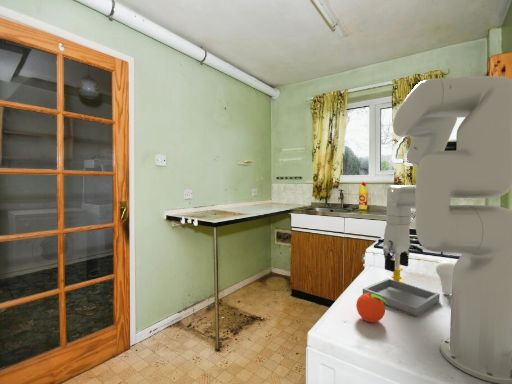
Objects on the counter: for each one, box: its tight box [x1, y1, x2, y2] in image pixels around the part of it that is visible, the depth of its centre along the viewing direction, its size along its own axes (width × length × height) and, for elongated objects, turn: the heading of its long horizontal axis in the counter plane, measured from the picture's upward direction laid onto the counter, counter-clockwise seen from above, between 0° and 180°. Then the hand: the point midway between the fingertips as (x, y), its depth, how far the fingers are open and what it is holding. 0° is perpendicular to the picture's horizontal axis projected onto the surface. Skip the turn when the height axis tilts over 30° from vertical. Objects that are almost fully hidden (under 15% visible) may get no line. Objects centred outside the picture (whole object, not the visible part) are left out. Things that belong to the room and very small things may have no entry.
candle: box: [391, 253, 405, 283], centre depth 93 cm, size 5×5×16 cm
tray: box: [362, 278, 441, 318], centre depth 81 cm, size 16×16×2 cm
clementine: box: [355, 293, 389, 323], centre depth 68 cm, size 8×7×7 cm
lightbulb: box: [435, 260, 456, 296], centre depth 84 cm, size 6×6×11 cm
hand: (396, 267), depth 93 cm, fingers open, 9 cm apart
